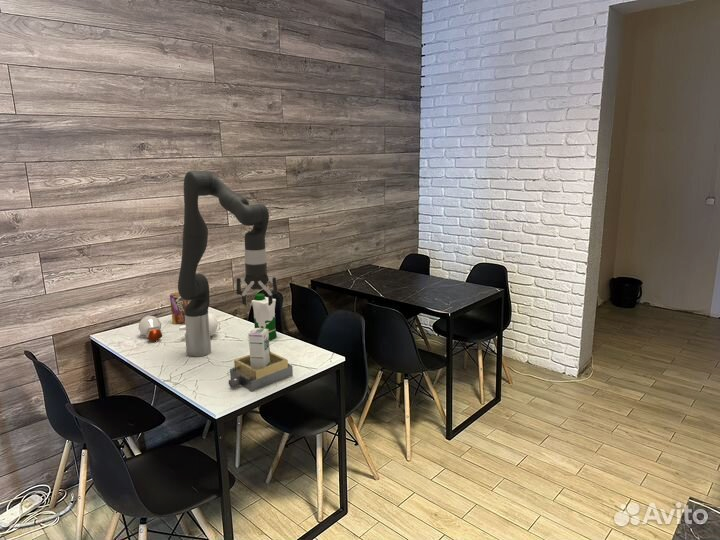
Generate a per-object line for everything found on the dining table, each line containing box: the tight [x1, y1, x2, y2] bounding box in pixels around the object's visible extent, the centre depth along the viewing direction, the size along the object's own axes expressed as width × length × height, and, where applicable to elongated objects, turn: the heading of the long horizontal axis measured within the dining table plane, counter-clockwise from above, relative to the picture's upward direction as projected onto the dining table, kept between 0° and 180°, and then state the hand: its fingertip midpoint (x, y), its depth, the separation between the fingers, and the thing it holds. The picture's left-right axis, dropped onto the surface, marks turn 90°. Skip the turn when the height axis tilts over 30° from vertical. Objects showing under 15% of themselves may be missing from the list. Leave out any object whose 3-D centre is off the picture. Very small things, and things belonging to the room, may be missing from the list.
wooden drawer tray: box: [228, 351, 294, 392], centre depth 184 cm, size 22×14×7 cm, turn 135°
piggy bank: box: [178, 312, 219, 337], centre depth 225 cm, size 12×12×15 cm
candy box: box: [169, 291, 191, 325], centre depth 242 cm, size 9×4×15 cm, turn 85°
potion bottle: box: [138, 315, 163, 343], centre depth 225 cm, size 9×10×15 cm
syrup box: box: [248, 327, 271, 370], centre depth 184 cm, size 6×6×14 cm
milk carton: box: [251, 292, 278, 341], centre depth 222 cm, size 9×9×20 cm
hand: (257, 305), depth 180 cm, fingers open, 8 cm apart
